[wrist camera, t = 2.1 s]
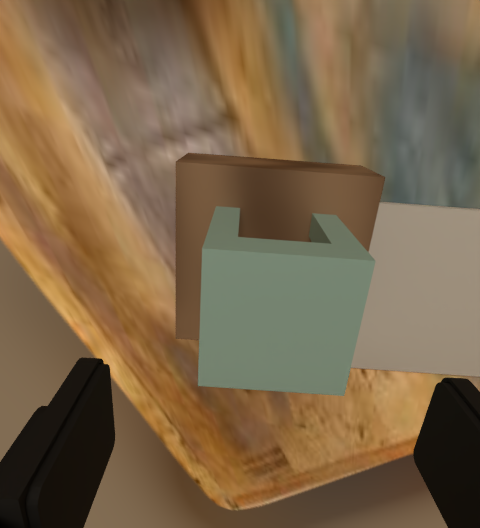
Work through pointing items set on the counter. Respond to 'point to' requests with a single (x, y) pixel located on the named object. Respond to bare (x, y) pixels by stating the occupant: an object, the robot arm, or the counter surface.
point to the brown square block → (261, 209)
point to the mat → (423, 292)
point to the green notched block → (281, 307)
